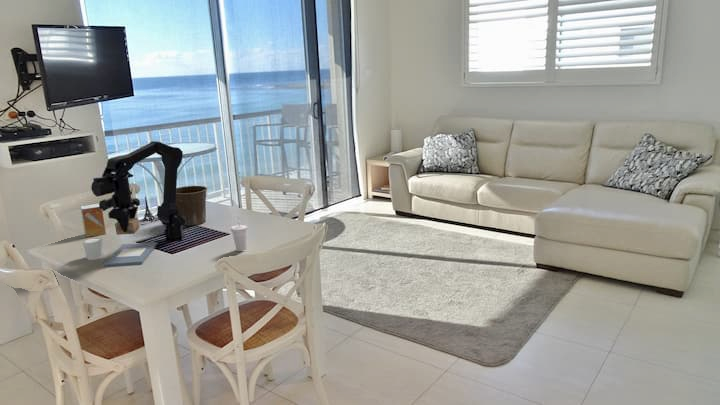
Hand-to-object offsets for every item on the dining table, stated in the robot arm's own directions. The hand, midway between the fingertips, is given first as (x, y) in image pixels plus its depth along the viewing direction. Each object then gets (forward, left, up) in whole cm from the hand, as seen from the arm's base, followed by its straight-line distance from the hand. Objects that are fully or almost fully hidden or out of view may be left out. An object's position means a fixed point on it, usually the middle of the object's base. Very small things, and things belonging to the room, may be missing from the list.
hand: (128, 229), depth 203 cm
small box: (+25, -31, -11) cm, 41 cm away
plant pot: (-16, -40, -11) cm, 44 cm away
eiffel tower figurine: (+6, -48, -12) cm, 50 cm away
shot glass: (+14, 0, -11) cm, 18 cm away
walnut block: (0, 0, -1) cm, 1 cm away
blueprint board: (0, 0, -11) cm, 11 cm away
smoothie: (-43, +3, -11) cm, 44 cm away
